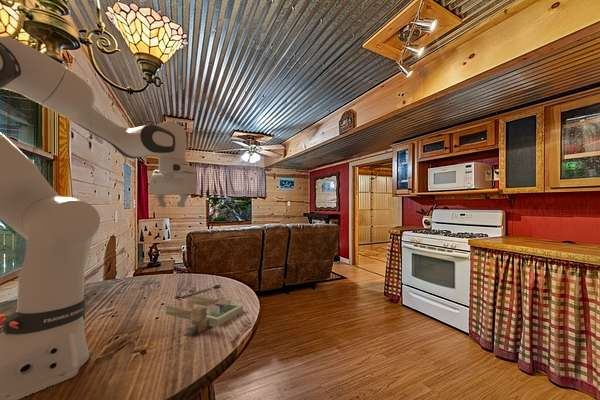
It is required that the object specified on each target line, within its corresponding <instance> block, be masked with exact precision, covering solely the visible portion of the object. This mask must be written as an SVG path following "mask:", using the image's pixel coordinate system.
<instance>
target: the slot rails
mask: <svg viewBox="0 0 600 400" xmlns="http://www.w3.org/2000/svg"><path fill="white" fill-rule="evenodd" d="M190 297H191V298H190V301H191V304H196V305H199V306H204V307H206V306H209V305H212V304H213V305H214V303H216V302H217V301H219V299H218V298H212V297H207V296H204V295H203V296H202V295H197V294H195V295H191V296H190ZM192 309H193V308H187V307H182V306H178V305H173V304H166V305H165V314H167V315H171V316H176V317H180V318H183V319H188V320H191V313H192Z"/></svg>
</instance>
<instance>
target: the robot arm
mask: <svg viewBox="0 0 600 400" xmlns="http://www.w3.org/2000/svg"><path fill="white" fill-rule="evenodd" d="M0 89H2V90H6V91H7V90H8V91H11V92H14V93H17V94H20V95H22V96H24V97H26V98H28V99H29V100H31V101H33V102H35V103H38V105H40V106H43V107H45V108H46V109H49V110H51V111H53V112H55V113H56V114H59V115H61V116H63V117H65V118H66V119H67V120H69V121H71V122H73V123H74V124H75V125H77V126H79V127H80V128H82V129H84V130H86V131H88V132H90V133H91V134H93V135H95V136H97V137H98V138H100V139H102V140H104V141H105V142H107V143H109V144H110V145H111V146H112V147H113V148H114V149H115V150H117V152H118V153H120V155H122V156H124V158H127V159H133V160H135V159H139V158H143V157H148V156H155V155H156V156H157V157H158V168H157V169H155V170H153V172H152V174H151V176H150V177H149V178H150V179H149V184H148V193H149V195H153V196H156V200H157V202H158V207H159V208H166V207H167V202H166V201H165V200H164V199H165V196H168V195H169V196H170V195H179V197H180V200H179V201H177V208H185V207H186V205H185V203H186V201H187V199H188V195H195V194H196V192H197V190H198V178H197V170H198V169H197V167H195V166H192V165H189V164H187V159H186V151H187V135H186V129H185V128H184V127H183V126H182V125H181V124H179V123H177V122H175V121H169V120H165V121H163V122H160V123H157V124H144V125H143V124H142V125H140V126H136V127H131V128H130V127H123V126H120V125H118V124H117V123H115V122H113V121H112V120H111V119H109V118H107V117H106V116H104V115H103V114H101V112H99V111H98V110H97V109H95V107H94V106H95V102H96V98H95V97H96V96H95V92H94V90H93V87H92V85H90V84H89V83H88V81H86V80H85V79H84V78H83V77H82V76H80V75H79V74H77V73H76V72H74V71H73V70H72V69H70V68H68V67H67V66H66V65H64V64H62V63H60V62H59V61H57V60H56V59H54V58H52V57H51V56H49V55H47V54H45V53H43V52H42V51H39V50H38V49H36V48H34V47H32V46H30V45H28V44H26V43H24V42H22V41H19V40H17V39H15V38H13V37H10V36H0ZM0 220H1V221H2V222H3V223H5V224H6V225H7V226H8V227H9V228H11V229H12V230H13V231H15V232H16V233H17V234H18V235H20V237H22V238H24V239H25V240H27V245H26V250H25V256H24V259H23V262H22V267H21V269H20V271H19V273H18V280H17V281H18V282H17V283H18V285H17V298H16V299H17V301H16V302H17V306H16V309H15V310H14V312H12V313H11V314H10V315H6V314H4V313H0V326H2V332H1V333H0V400H21V399H23V398H26V397H27V396H30V394H31V395H32V393H33V394H35V393H37V392H41V391H42V390H45V389H48V388H50V387H52V385H53V386H56V385H58V384H60V383H62V382H64V381H66V380H70V379H72V378H73V377H75V376H77V375H78V373H79V371H80V368H81V367H82V366H83V365H84V364H86V362H87V361H88V360H89V359H90V356H91V353H90V351H89V349H88V348H89V347H88V344H87V341H86V335H85V325H84V324H85V323H84V321H85V320H86V319H85V318H86V298H85V297H84V291H85V290H84V289H85V287H84V286H85V270H86V263H87V259H88V256H89V253H90V248H91V246H92V242H93V238H94V236H95V235H96V233H97V232H98V230H99V228H100V224H101V217H100V214H99V212H98V211H97V209H96V208H95V207H94V206H93V205H92V204H90V203H89V202H86V201H84V200H83V199H80V198H77V197H73V196H61V195H60V194H58V192H57V191H56V190H55V189H54V187H52V185H51V184H50V183H49V182H48V180H47V179H46V178H45V176H44V175H43V174H42V172H41V171H40V168H39V167H38V166H37V165H36V164H35V162H33V161H32V160H31V159H30V158H29V157H27V155H26V154H24V153H23V152H22V151H21V150H20V149H19V148H18V147H17V146H16V145H15V144H13V142H11V140H10V139H8V138H7V137H6V136H5V135H4V134H2V132H0ZM49 386H50V387H49ZM47 387H48V388H47ZM25 396H26V397H25Z"/></svg>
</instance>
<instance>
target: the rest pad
mask: <svg viewBox="0 0 600 400" xmlns="http://www.w3.org/2000/svg"><path fill="white" fill-rule="evenodd" d="M213 327H214V325H211V324H209V326H208V327H206V329H205V330H203V331H202V332H200V333H195V334H193V335H192V336H191V335H188V331H187V332H185V333H184V334H183V336H184V337H187V338H190V339H191V338H192V339H194V338H195V337H198V336H199V335H201V334H202V333H205V332H206V331H208V330H210V329H211V328H213Z"/></svg>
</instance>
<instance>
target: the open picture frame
mask: <svg viewBox="0 0 600 400" xmlns="http://www.w3.org/2000/svg"><path fill="white" fill-rule="evenodd" d="M243 312H244V305H243V304H237V303H231V302H230V311H228V312H226V313H225V314H223V315H220V316H219V317H214V316H210V315H206V318H209V325H211V326H215V327H219V326H220V325H222V324H224V323H226V322H227V321H230V320H231V319H232V318H234V317H236V316H237V315H239V314H241V313H243ZM190 320H191V321H192V313H191V319H190Z"/></svg>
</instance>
